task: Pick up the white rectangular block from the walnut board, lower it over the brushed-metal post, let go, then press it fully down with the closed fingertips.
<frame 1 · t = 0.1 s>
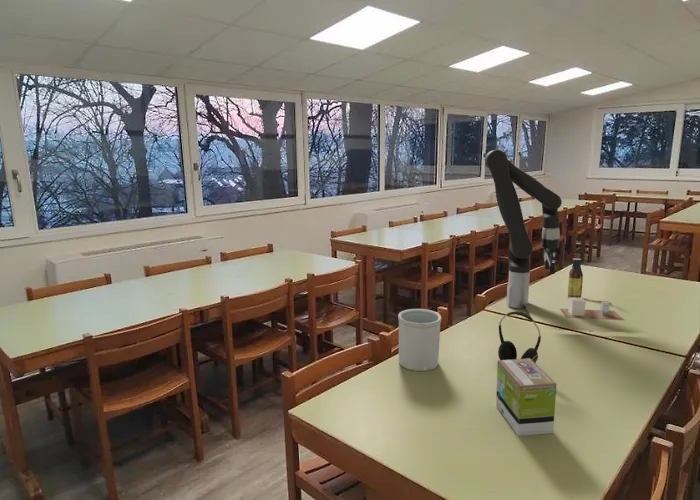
hand: (549, 271, 214), 17 cm above the table, tool pointing down, fingers open, 8 cm apart
board: (590, 317, 203), on the table
utensil holder: (419, 363, 162), on the table
sauce bottle: (574, 298, 230), on the table
tea box: (522, 420, 126), on the table
post: (604, 314, 201), resting on board
headphones: (516, 368, 156), on the table
white rectangular block: (576, 313, 203), point 1 cm above the table, touching board
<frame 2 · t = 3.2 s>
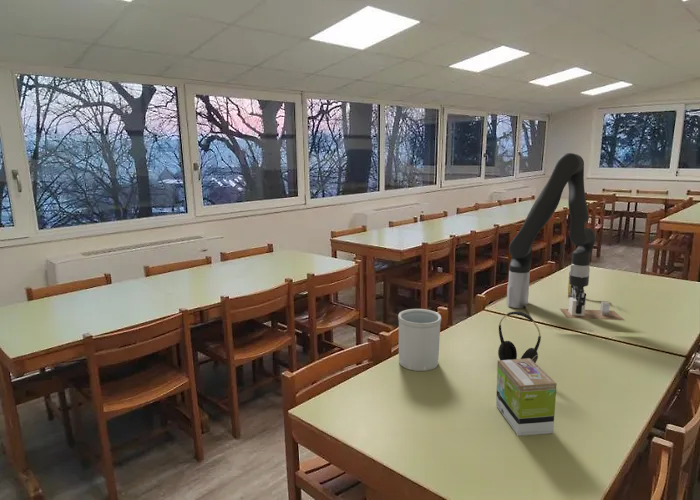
hand: (576, 311, 203), 3 cm above the table, tool pointing down, fingers closed on white rectangular block, 5 cm apart
white rectangular block: (576, 313, 203), point 2 cm above the table, touching board, gripper
everything else where it was.
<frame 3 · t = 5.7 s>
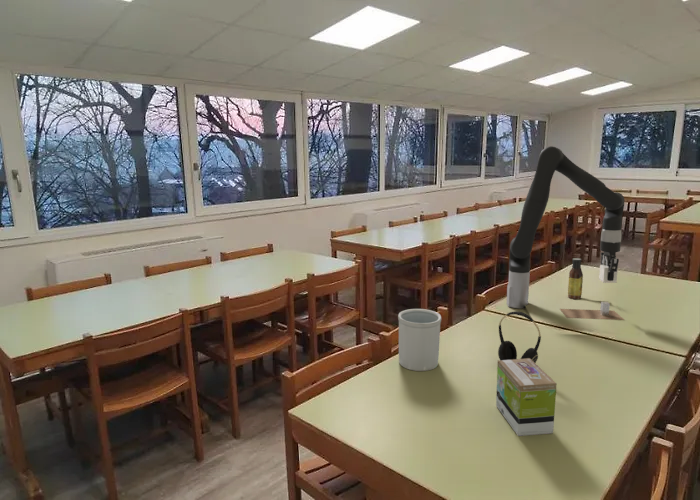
hand: (607, 278, 198), 18 cm above the table, tool pointing down, fingers closed on white rectangular block, 5 cm apart
white rectangular block: (607, 281, 198), point 17 cm above the table, touching gripper
everything else where it was.
when the fingers open (4 cm above the table, at t = 8.3 s): white rectangular block drops 1 cm, resting on board.
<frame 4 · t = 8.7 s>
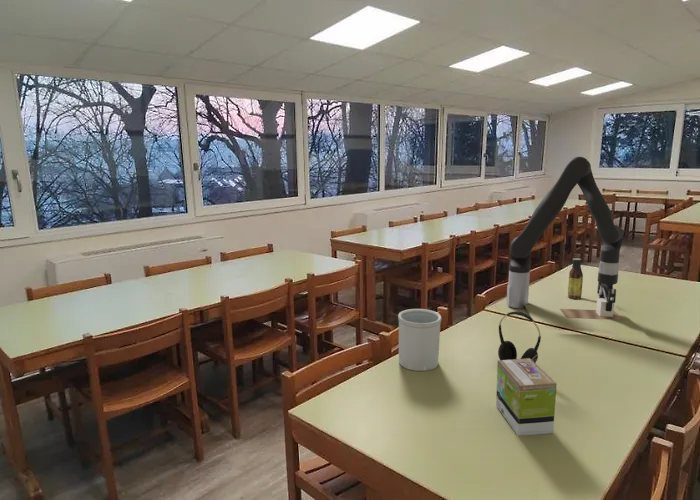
hand: (604, 307, 201), 5 cm above the table, tool pointing down, fingers open, 8 cm apart
white rectangular block: (604, 314, 201), point 1 cm above the table, touching board
everything else where it was.
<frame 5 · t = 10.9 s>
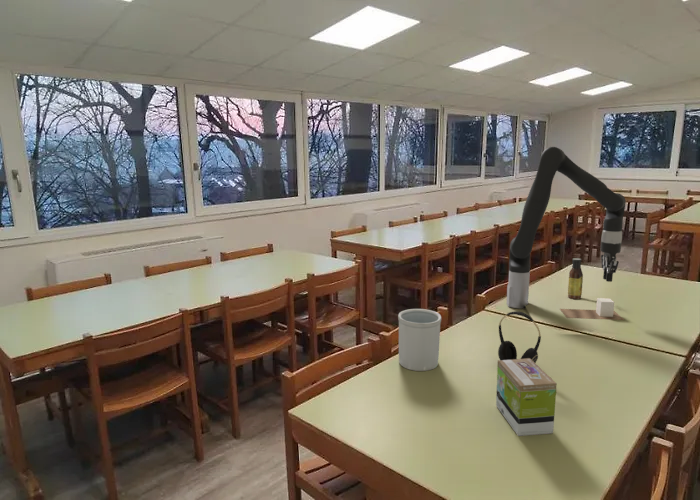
hand: (607, 280, 198), 17 cm above the table, tool pointing down, fingers open, 3 cm apart
nothing on the table moved.
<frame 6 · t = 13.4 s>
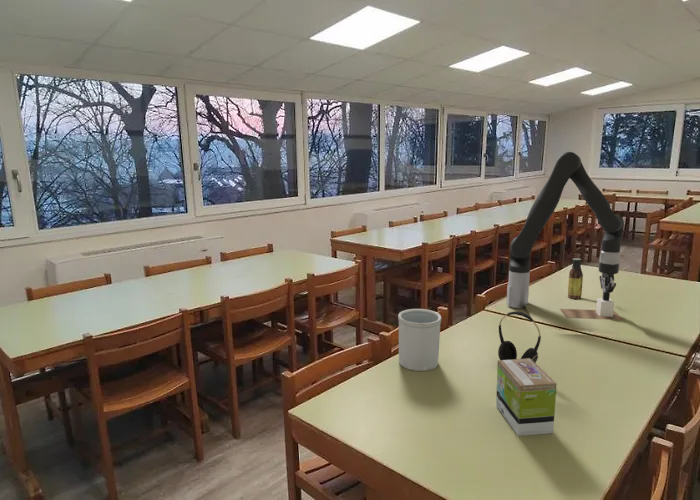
hand: (605, 300, 200), 8 cm above the table, tool pointing down, fingers closed
white rectangular block: (604, 314, 201), point 1 cm above the table, touching board, gripper
everything else where it was.
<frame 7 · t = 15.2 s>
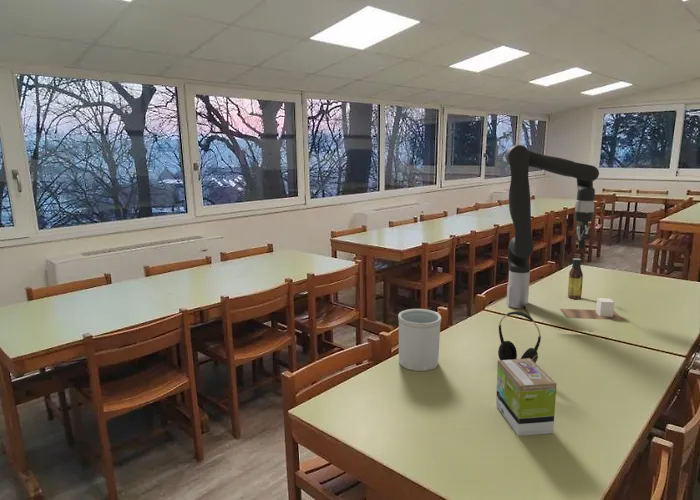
hand: (580, 248, 209), 28 cm above the table, tool pointing down, fingers closed
white rectangular block: (604, 314, 201), point 1 cm above the table, touching board
everything else where it was.
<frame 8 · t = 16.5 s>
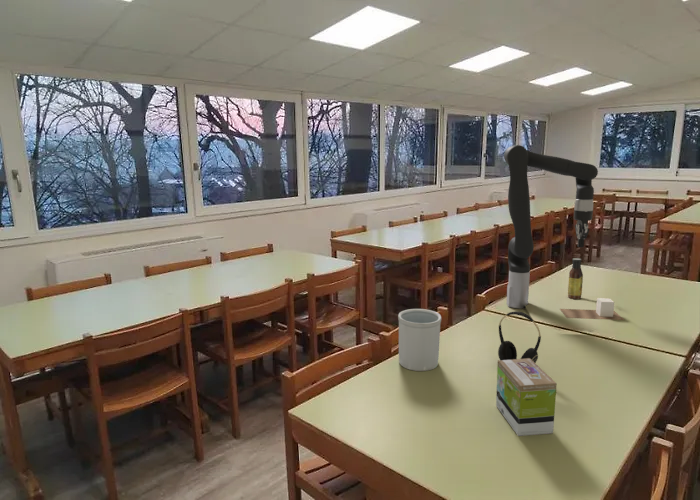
hand: (580, 247, 210), 29 cm above the table, tool pointing down, fingers closed
nothing on the table moved.
at the end: white rectangular block 0.1 cm from the post (horizontally); white rectangular block point 1.5 cm above the table; white rectangular block tilted 0° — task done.
